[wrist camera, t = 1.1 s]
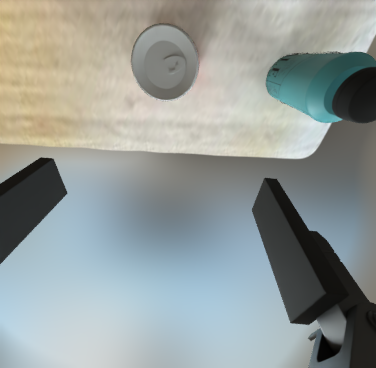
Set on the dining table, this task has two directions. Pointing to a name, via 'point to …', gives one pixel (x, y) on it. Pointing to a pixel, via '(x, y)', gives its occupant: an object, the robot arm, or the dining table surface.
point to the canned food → (165, 62)
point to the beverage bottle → (327, 85)
